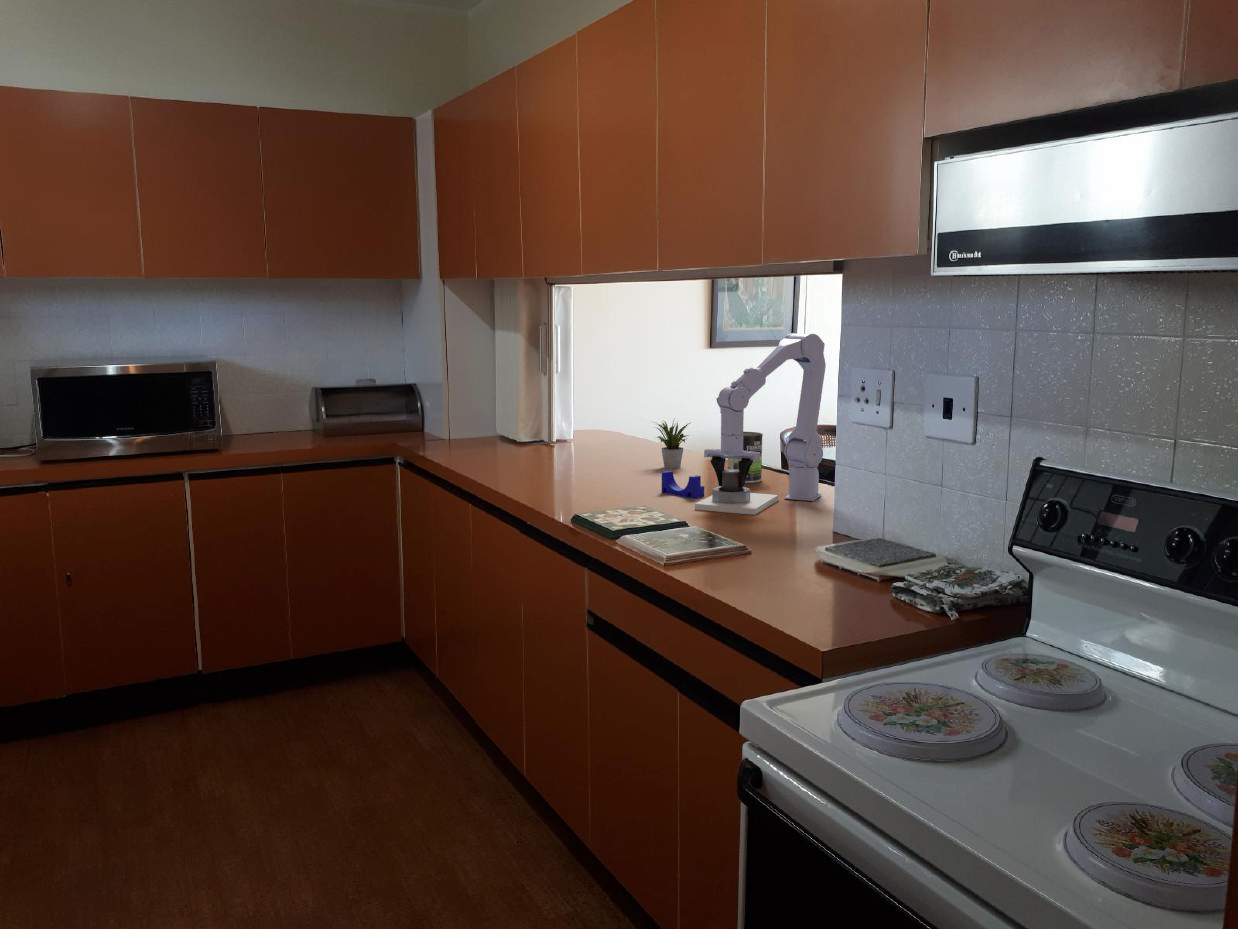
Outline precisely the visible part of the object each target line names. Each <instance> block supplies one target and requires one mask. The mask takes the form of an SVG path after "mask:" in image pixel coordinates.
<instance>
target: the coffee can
mask: <svg viewBox="0 0 1238 929" xmlns="http://www.w3.org/2000/svg"><path fill="white" fill-rule="evenodd" d="M763 436H764V434H763V433H761V432H757V431H743V450H744V451H751V452H760V460H758V461H754V460H753V463H752V465H751V467H750V469H749V471H748V474H747V477H746V480H745V484H757V483H761V482H762V480H763V479H762V471H763V470H762V464H763V463H762V462H763V461H762V460H763ZM734 457H738V456H734ZM740 460H741V459H730V458H727V469H735V470H739V465H738V461H740ZM760 481H761V482H760Z"/></svg>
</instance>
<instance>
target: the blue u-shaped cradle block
mask: <svg viewBox="0 0 1238 929" xmlns="http://www.w3.org/2000/svg"><path fill="white" fill-rule="evenodd" d="M701 477H702V476H701V475H698V474H697V475H692V476H691V475H690V476H688V482H687V485H686V486H685V487H684V488H681V486H679V484H678V483H677V482H676V479H675V477H674V471H672V470H665V471H661V493H663V494H668V495H673V496H677V497H683V498H688V499H692V500H693V499H698V498H704V497H705V486H704V485H701V483H702V481H701V479H702V478H701Z"/></svg>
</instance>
